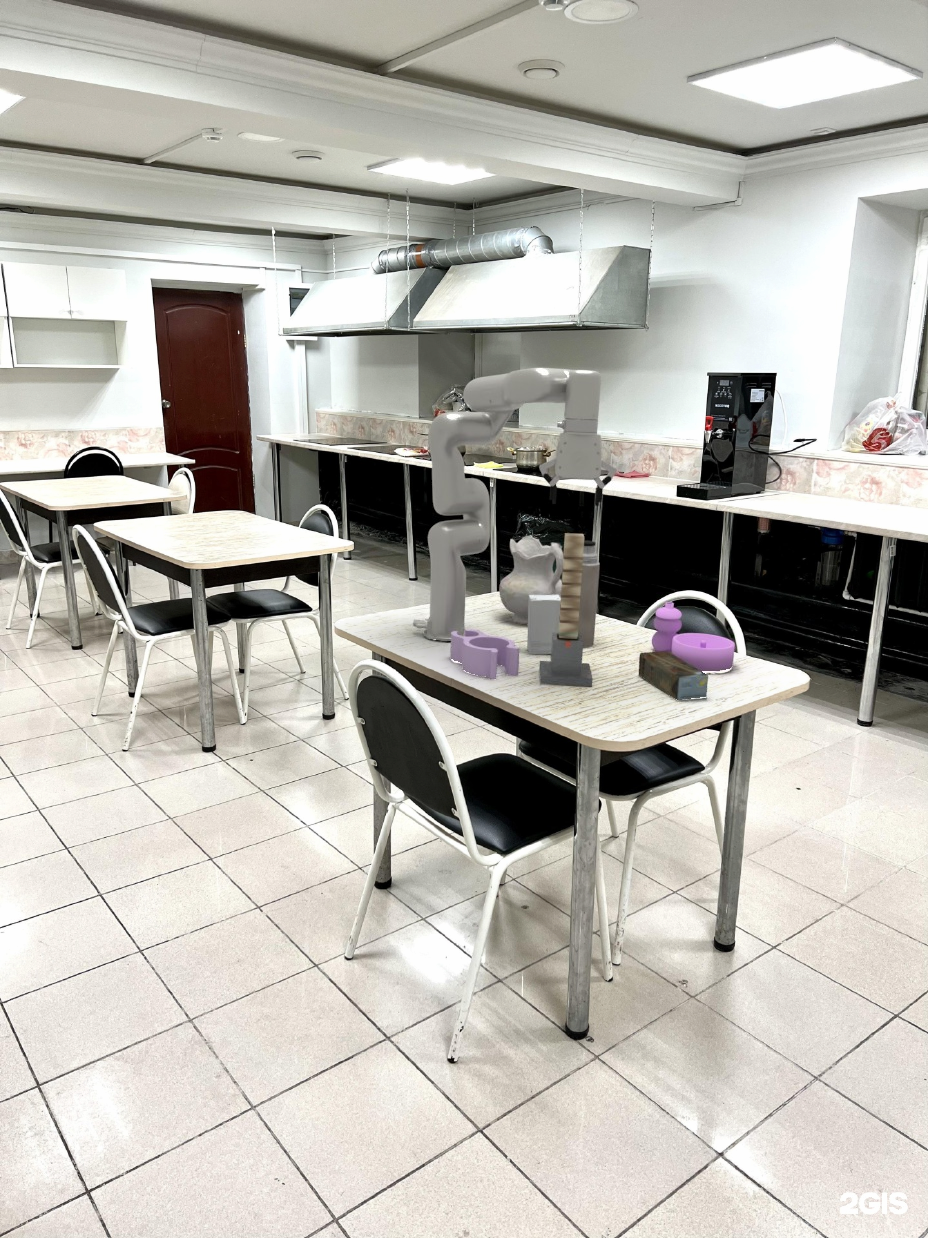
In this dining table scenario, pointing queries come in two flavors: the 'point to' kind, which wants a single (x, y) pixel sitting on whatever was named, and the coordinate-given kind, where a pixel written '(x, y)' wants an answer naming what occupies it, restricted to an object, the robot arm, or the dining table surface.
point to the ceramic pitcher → (531, 575)
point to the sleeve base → (566, 663)
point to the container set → (691, 642)
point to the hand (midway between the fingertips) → (575, 504)
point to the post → (571, 586)
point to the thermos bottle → (588, 594)
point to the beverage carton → (673, 675)
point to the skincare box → (542, 622)
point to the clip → (484, 653)
